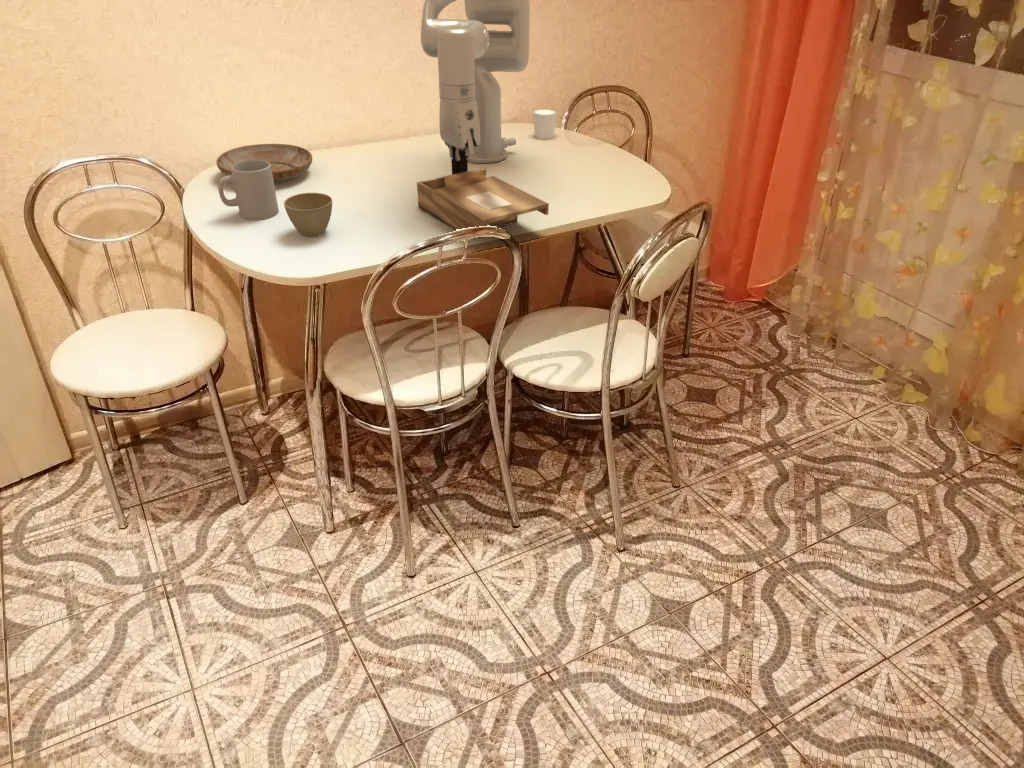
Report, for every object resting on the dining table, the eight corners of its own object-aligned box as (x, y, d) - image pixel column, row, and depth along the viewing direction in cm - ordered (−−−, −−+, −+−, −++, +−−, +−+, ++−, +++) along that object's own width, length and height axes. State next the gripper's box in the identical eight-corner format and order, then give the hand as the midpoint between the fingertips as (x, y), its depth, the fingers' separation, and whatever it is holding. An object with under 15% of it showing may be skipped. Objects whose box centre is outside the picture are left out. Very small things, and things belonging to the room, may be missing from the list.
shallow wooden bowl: (235, 198, 184) (230, 178, 181) (209, 170, 200) (205, 151, 197) (327, 181, 194) (325, 161, 191) (296, 156, 210) (293, 137, 208)
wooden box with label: (493, 186, 177) (493, 164, 175) (548, 214, 163) (549, 191, 161) (432, 200, 170) (431, 178, 167) (484, 231, 156) (483, 207, 153)
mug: (273, 203, 181) (265, 157, 174) (282, 216, 174) (274, 168, 168) (221, 212, 176) (210, 165, 170) (228, 225, 170) (218, 176, 163)
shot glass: (530, 139, 224) (531, 114, 220) (534, 132, 229) (534, 108, 226) (554, 140, 223) (555, 115, 219) (557, 133, 229) (558, 109, 225)
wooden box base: (469, 195, 186) (469, 170, 182) (517, 222, 172) (517, 196, 169) (418, 207, 179) (416, 182, 176) (464, 236, 165) (463, 209, 162)
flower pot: (279, 237, 164) (273, 205, 160) (307, 220, 172) (303, 189, 168) (318, 245, 161) (313, 212, 157) (345, 228, 169) (341, 196, 165)
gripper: (491, 95, 159) (492, 182, 169) (454, 81, 169) (457, 164, 179) (460, 101, 155) (463, 189, 166) (424, 86, 166) (428, 170, 176)
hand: (459, 176), depth 172 cm, fingers closed
